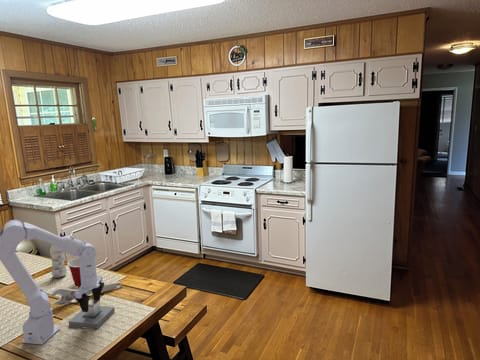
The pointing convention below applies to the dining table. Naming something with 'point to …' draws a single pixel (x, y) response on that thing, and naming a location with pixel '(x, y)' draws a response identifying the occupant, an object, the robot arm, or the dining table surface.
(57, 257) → the plastic bottle
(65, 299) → the wrench
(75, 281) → the plastic cup
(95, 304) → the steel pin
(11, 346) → the dining table surface
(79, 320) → the socket block
